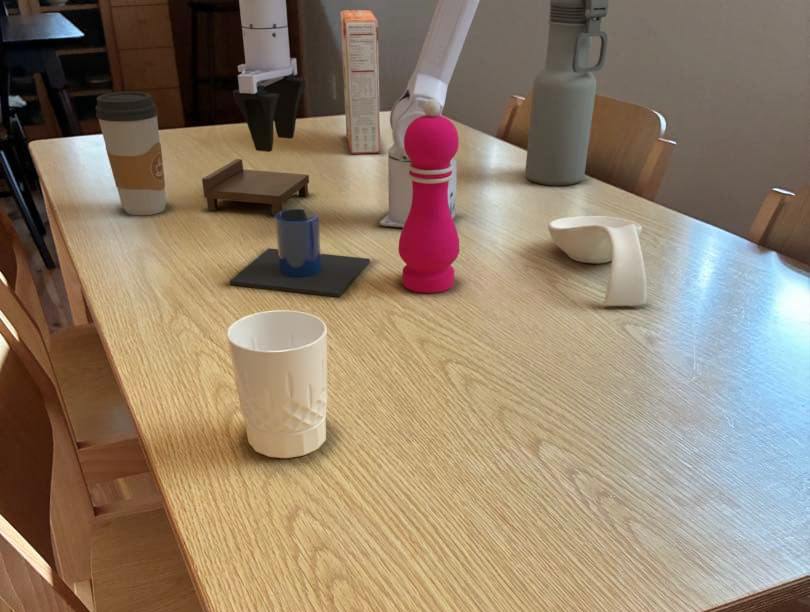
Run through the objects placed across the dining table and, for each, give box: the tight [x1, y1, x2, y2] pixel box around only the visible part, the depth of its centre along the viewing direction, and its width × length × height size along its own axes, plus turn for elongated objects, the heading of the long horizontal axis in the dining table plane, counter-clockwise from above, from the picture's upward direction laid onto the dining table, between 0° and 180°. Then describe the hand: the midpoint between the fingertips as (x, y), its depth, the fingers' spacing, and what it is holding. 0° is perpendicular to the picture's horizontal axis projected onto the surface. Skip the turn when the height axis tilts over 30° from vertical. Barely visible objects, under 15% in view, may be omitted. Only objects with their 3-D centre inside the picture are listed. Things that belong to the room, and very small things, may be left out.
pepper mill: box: [398, 99, 460, 294], centre depth 92 cm, size 7×7×20 cm
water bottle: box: [524, 0, 609, 187], centre depth 126 cm, size 10×10×28 cm
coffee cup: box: [95, 91, 167, 216], centre depth 116 cm, size 8×8×15 cm
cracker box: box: [339, 9, 382, 155], centre depth 146 cm, size 14×6×21 cm, turn 6°
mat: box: [229, 248, 371, 298], centre depth 100 cm, size 14×12×1 cm
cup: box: [274, 208, 322, 277], centre depth 98 cm, size 5×5×7 cm
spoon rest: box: [547, 215, 647, 307], centre depth 99 cm, size 24×12×7 cm, turn 3°
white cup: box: [226, 309, 329, 459], centre depth 67 cm, size 8×8×10 cm
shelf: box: [201, 158, 310, 217], centre depth 122 cm, size 12×12×4 cm
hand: (275, 144), depth 110 cm, fingers open, 7 cm apart
